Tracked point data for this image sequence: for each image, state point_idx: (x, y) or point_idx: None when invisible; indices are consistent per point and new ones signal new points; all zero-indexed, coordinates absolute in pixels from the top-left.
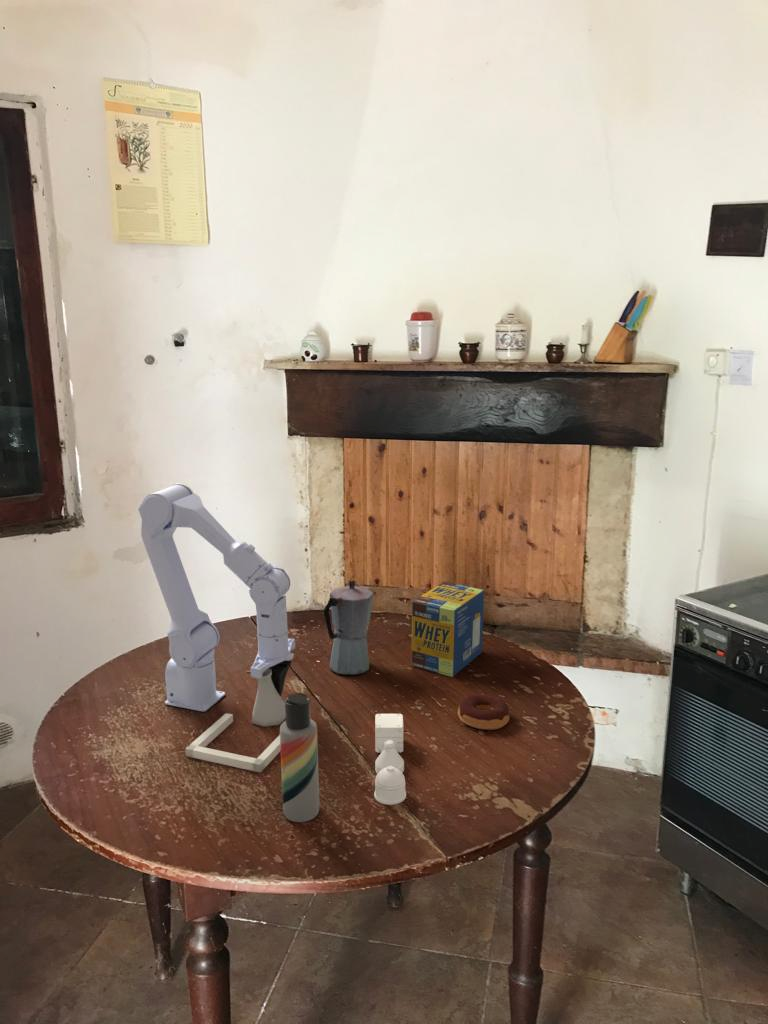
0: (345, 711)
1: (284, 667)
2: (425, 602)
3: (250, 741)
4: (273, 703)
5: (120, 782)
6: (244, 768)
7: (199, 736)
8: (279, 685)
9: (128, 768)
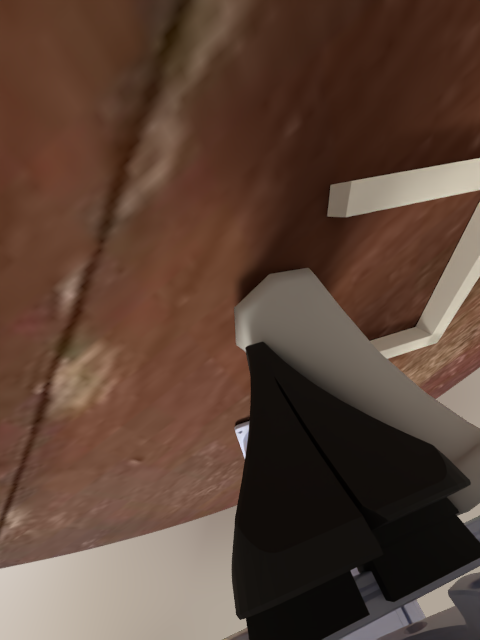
0: (23, 28)
1: (408, 512)
2: None
3: (377, 280)
4: (347, 316)
5: (468, 346)
6: None
7: (400, 354)
8: (301, 375)
9: (439, 361)
